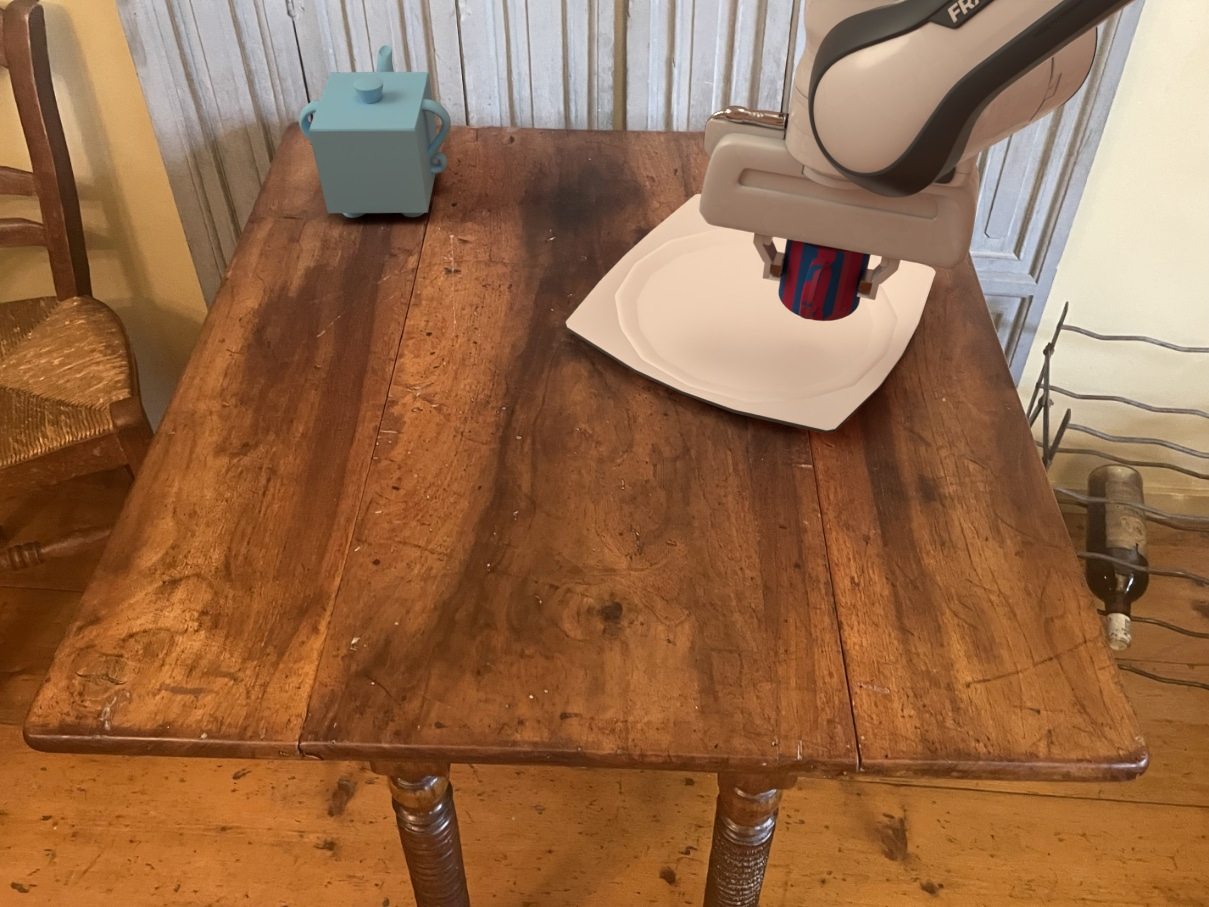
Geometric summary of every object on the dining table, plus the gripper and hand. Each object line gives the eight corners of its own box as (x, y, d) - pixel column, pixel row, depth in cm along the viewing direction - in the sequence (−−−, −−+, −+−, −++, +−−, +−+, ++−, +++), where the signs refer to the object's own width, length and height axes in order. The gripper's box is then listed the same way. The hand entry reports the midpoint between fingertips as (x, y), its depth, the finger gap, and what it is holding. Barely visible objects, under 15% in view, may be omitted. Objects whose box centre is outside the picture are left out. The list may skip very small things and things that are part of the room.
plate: (835, 471, 80) (841, 448, 78) (543, 350, 90) (542, 327, 88) (948, 289, 97) (955, 266, 95) (690, 204, 107) (692, 183, 105)
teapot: (454, 225, 104) (439, 110, 95) (306, 226, 104) (277, 111, 95) (467, 139, 117) (456, 30, 107) (335, 140, 116) (312, 30, 107)
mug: (870, 287, 83) (887, 217, 78) (829, 355, 77) (845, 284, 72) (795, 264, 85) (807, 195, 80) (750, 328, 79) (760, 258, 74)
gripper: (695, 122, 69) (684, 282, 79) (998, 170, 65) (945, 334, 75) (717, 82, 73) (703, 240, 83) (1003, 125, 69) (952, 286, 79)
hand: (820, 285), depth 79 cm, fingers closed on mug, 6 cm apart
